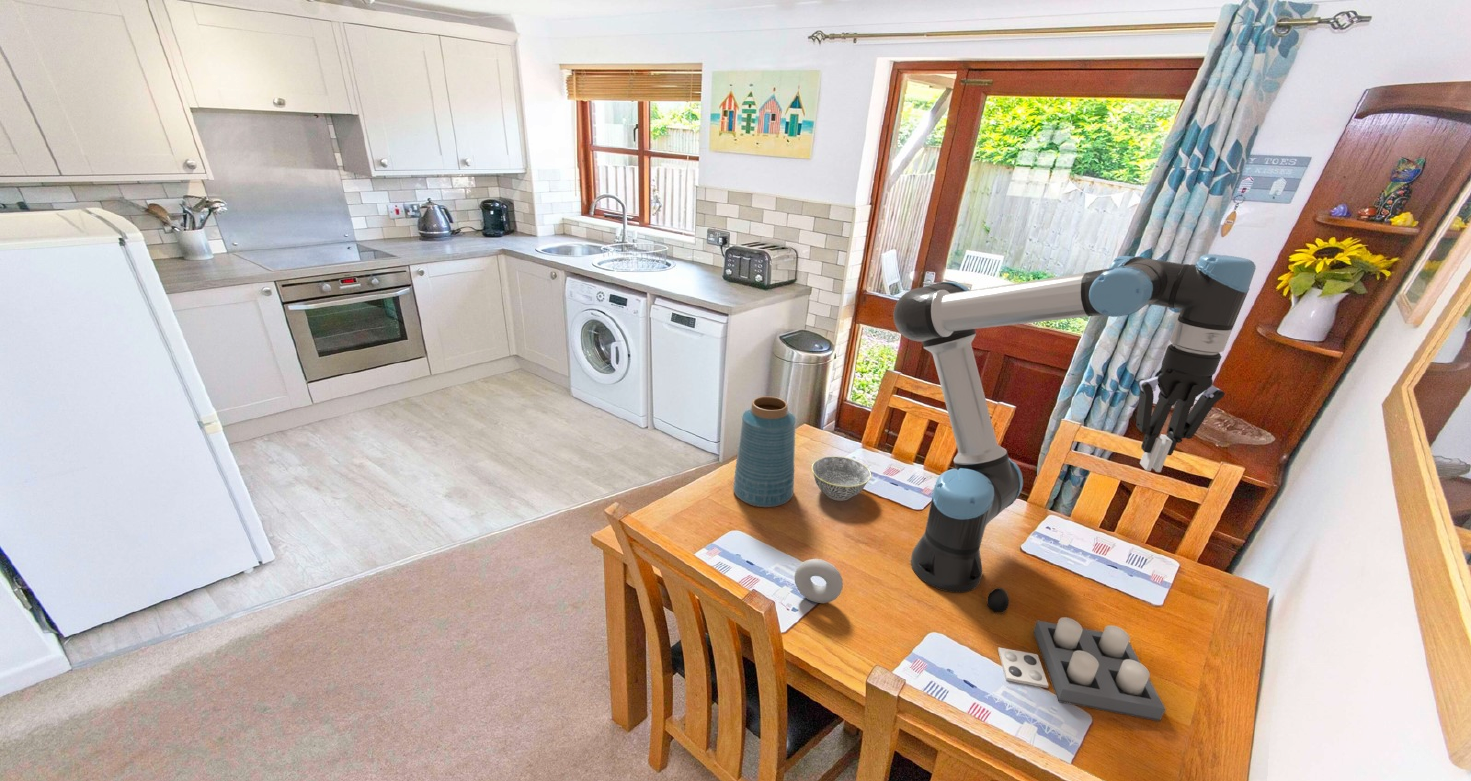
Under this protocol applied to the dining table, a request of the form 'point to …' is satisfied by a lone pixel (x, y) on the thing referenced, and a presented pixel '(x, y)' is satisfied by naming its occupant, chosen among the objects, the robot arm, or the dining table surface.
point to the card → (1022, 667)
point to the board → (1104, 685)
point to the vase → (766, 454)
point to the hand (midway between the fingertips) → (1149, 467)
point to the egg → (998, 600)
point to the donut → (822, 570)
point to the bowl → (840, 476)
